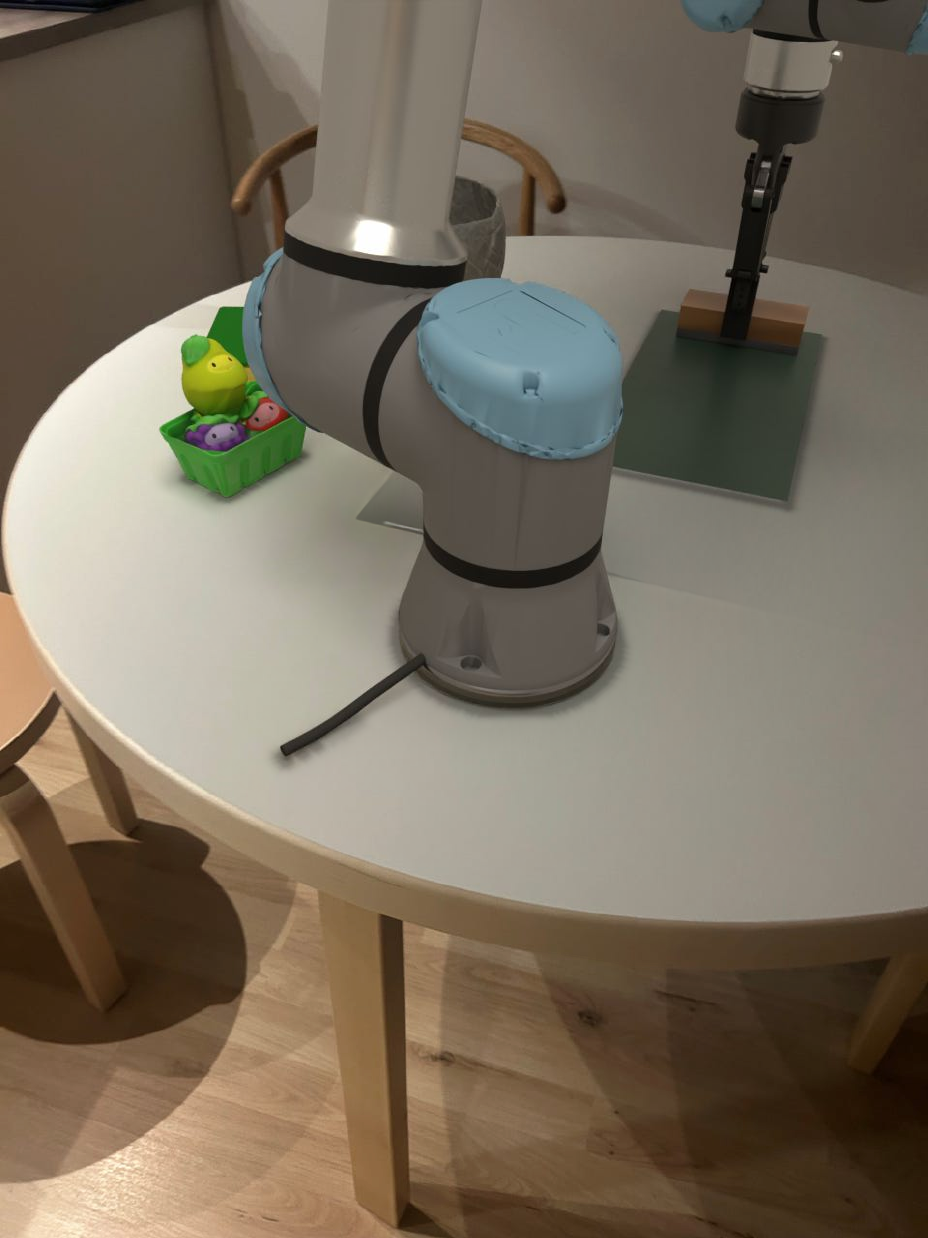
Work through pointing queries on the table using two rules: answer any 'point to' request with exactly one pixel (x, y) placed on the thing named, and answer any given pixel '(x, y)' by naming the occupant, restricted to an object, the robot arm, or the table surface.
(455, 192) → the bowl
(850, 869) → the table surface
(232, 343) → the dish sponge
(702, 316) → the board eraser
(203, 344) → the fruit basket
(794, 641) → the table surface
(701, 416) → the chalkboard
